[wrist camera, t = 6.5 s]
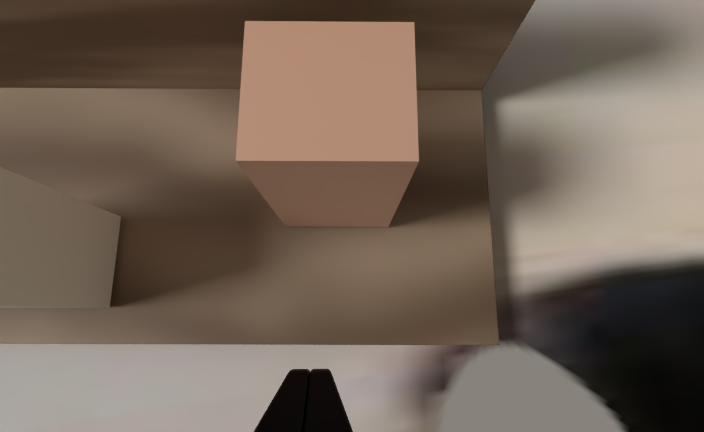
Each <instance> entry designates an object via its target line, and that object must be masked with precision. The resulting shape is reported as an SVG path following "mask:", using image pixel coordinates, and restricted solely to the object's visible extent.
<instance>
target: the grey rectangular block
mask: <svg viewBox="0 0 704 432" xmlns="http://www.w3.org/2000/svg"><path fill="white" fill-rule="evenodd" d="M120 222H121V216H118V215H116V214H113V213H111V212H109V211H106V210H104V209H101V208H99V207H96V206H94V205H91V204H89V203H87V202H84V201H82V200H79V199H77V198H74V197H72V196H70V195H67V194H65V193H62V192H60V191H57V190H55V189H52V188H50V187H48V186H45V185H43V184H40V183H38V182H35V181H33V180H31V179H28V178H26V177H23V176H21V175H18V174H16V173H14V172H11V171H9V170H6V169H4V168H1V167H0V308H110V301H111V293H112V285H113V277H114V269H115V261H116V253H117V245H118V237H119V229H120Z"/></svg>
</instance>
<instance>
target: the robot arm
mask: <svg viewBox="0 0 704 432" xmlns="http://www.w3.org/2000/svg"><path fill="white" fill-rule="evenodd" d="M254 432H353V431H352V428H351V425H350V423H349V420H348V417H347V415H346V412H345V409H344V406H343V404H342V401H341V398H340V395H339V393H338V390H337V387H336V385H335V382H334V379H333V376H332V374H331V371H330V370H329V369H313V370H311V372H310V371H309V370H308V369H292V370H291V371H290V372H289V373H288V374H287V376H286V378H285V379H284V381H283V383H282V385H281V386H280V388H279V390H278V391H277V393H276V395H275V396H274V398H273V400H272V402H271V403H270V405H269V407H268V408H267V410H266V412H265V414H264V415H263V417H262V419H261V420H260V422H259V424H258V425H257V427H256V429H255V431H254Z"/></svg>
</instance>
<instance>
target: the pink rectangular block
mask: <svg viewBox="0 0 704 432" xmlns="http://www.w3.org/2000/svg"><path fill="white" fill-rule="evenodd" d="M236 162H237V163H238V164H239V166H240V167H241V168H242V170H243V171H244V172H245V174H246V175H247V176H248V178H249V179H250V180H251V182H252V183H253V184H254V185H255V187H256V188H257V189H258V191H259V192H260V193H261V195H262V196H263V197H264V199H265V200H266V201H267V203H268V204H269V205H270V207H271V208H272V209H273V210H274V212H275V213H276V214H277V216H278V217H279V218H280V220H281V221H282V222H283V224H284V225H285V226H286V227H389V225H390V222H391V220H392V218H393V216H394V214H395V212H396V210H397V207H398V205H399V203H400V201H401V199H402V197H403V195H404V192H405V190H406V188H407V186H408V184H409V182H410V180H411V177H412V175H413V173H414V171H415V169H416V167H417V165H418V162H419V147H418V117H417V88H416V58H415V28H414V22H318V21H245V27H244V42H243V57H242V72H241V87H240V102H239V117H238V132H237V147H236Z"/></svg>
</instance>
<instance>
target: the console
mask: <svg viewBox="0 0 704 432" xmlns="http://www.w3.org/2000/svg"><path fill="white" fill-rule="evenodd" d="M534 1H535V0H0V167H1V168H4V169H6V170H9V171H11V172H14V173H16V174H18V175H21V176H23V177H26V178H28V179H31V180H33V181H35V182H38V183H40V184H43V185H45V186H48V187H50V188H52V189H55V190H57V191H60V192H62V193H65V194H67V195H70V196H72V197H74V198H77V199H79V200H82V201H84V202H87V203H89V204H91V205H94V206H96V207H99V208H101V209H104V210H106V211H109V212H111V213H113V214H116V215H118V216H121V222H120V229H119V237H118V245H117V253H116V261H115V269H114V277H113V285H112V293H111V301H110V308H0V344H313V345H499V336H498V322H497V308H496V294H495V279H494V265H493V251H492V237H491V223H490V209H489V194H488V180H487V166H486V152H485V138H484V124H483V109H482V95H481V90H482V88H483V87H484V85H485V83H486V82H487V80H488V78H489V77H490V75H491V73H492V72H493V70H494V68H495V67H496V65H497V63H498V62H499V60H500V58H501V57H502V55H503V53H504V52H505V50H506V48H507V47H508V45H509V43H510V41H511V40H512V38H513V36H514V35H515V33H516V31H517V30H518V28H519V26H520V25H521V23H522V21H523V20H524V18H525V16H526V15H527V13H528V11H529V10H530V8H531V6H532V5H533V3H534ZM245 21H318V22H414V28H415V58H416V88H417V117H418V147H419V162H418V165H417V167H416V169H415V171H414V173H413V175H412V177H411V180H410V182H409V184H408V186H407V188H406V190H405V192H404V195H403V197H402V199H401V201H400V203H399V205H398V207H397V210H396V212H395V214H394V216H393V218H392V220H391V222H390V225H389V227H286V226H285V225H284V224H283V222H282V221H281V220H280V218H279V217H278V216H277V214H276V213H275V212H274V210H273V209H272V208H271V207H270V205H269V204H268V203H267V201H266V200H265V199H264V197H263V196H262V195H261V193H260V192H259V191H258V189H257V188H256V187H255V185H254V184H253V183H252V182H251V180H250V179H249V178H248V176H247V175H246V174H245V172H244V171H243V170H242V168H241V167H240V166H239V164H238V163H237V162H236V147H237V132H238V117H239V102H240V87H241V72H242V57H243V42H244V27H245Z"/></svg>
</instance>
